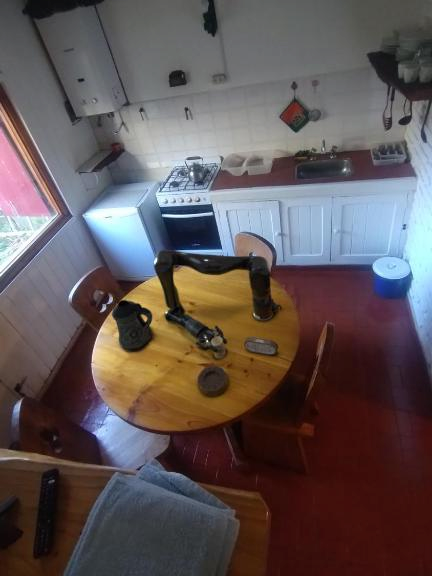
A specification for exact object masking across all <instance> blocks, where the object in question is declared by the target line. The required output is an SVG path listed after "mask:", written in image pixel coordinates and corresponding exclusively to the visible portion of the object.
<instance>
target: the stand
mask: <svg viewBox="0 0 432 576" xmlns="http://www.w3.org/2000/svg"><path fill="white" fill-rule="evenodd" d="M227 374H228V373H226V371H225V369H224V368H222V367H220V366H218V365H212V366H211V365H210V366H209V365H208V366H207V367H205V368H203V369H202V370H201V371H200V373H199V374H198V376H197V385H198V387H199V389H200V391H201V392H202V394H203V395H205V396H207V397H217V396H220V395H222V394H223V393H224V392H225V391H226V389H228V386H229V385H228V383H229V382H228V375H227Z"/></svg>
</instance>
